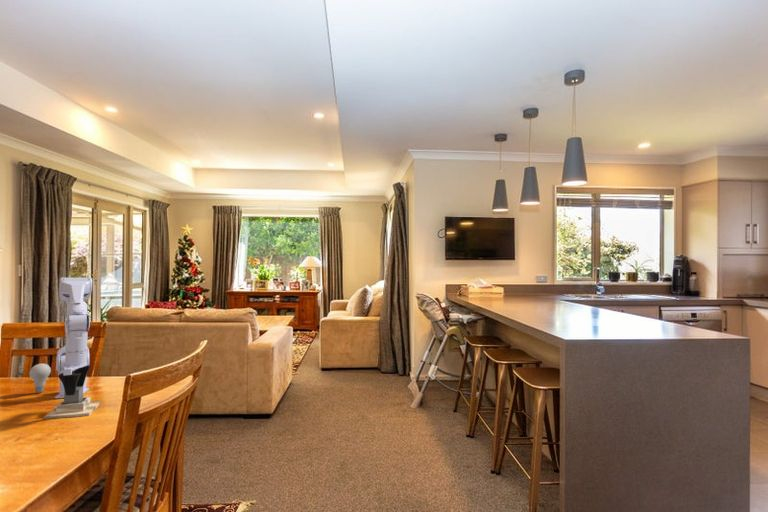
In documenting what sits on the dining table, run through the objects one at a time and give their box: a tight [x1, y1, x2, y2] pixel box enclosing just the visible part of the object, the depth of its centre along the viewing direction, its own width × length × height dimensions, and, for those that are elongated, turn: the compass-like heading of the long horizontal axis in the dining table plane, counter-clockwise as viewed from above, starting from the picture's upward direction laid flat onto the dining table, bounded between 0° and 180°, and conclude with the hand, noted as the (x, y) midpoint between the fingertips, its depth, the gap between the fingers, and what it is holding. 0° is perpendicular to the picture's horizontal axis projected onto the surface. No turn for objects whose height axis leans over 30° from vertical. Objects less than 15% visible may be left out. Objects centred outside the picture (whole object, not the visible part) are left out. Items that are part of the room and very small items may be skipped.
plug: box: [63, 386, 84, 404], centre depth 133 cm, size 4×4×6 cm
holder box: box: [43, 396, 102, 421], centre depth 133 cm, size 12×12×3 cm
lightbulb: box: [29, 363, 52, 394], centre depth 151 cm, size 6×6×11 cm
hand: (74, 391), depth 133 cm, fingers open, 7 cm apart
